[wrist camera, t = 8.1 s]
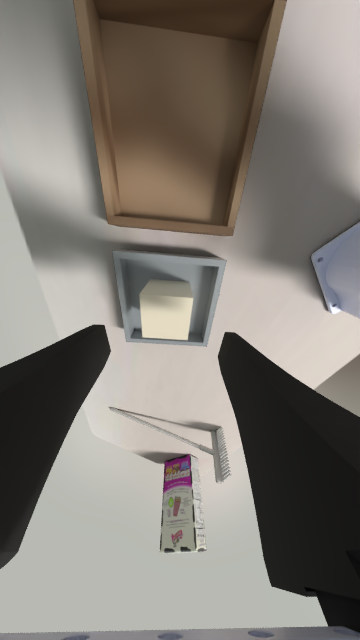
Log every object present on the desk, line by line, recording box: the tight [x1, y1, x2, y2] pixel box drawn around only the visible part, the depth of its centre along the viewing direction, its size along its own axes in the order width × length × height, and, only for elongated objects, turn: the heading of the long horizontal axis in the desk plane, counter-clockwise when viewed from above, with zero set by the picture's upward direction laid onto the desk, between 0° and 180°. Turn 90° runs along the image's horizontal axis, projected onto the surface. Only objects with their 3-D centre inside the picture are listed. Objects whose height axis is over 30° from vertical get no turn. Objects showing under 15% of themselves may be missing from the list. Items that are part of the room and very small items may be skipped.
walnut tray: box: [73, 0, 287, 236], centre depth 10 cm, size 11×11×2 cm
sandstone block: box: [139, 279, 193, 340], centre depth 15 cm, size 4×4×5 cm
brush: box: [110, 407, 231, 484], centre depth 31 cm, size 4×28×9 cm, turn 64°
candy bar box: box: [160, 455, 206, 553], centre depth 40 cm, size 11×5×16 cm, turn 127°
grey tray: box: [112, 249, 227, 347], centre depth 17 cm, size 11×11×2 cm
